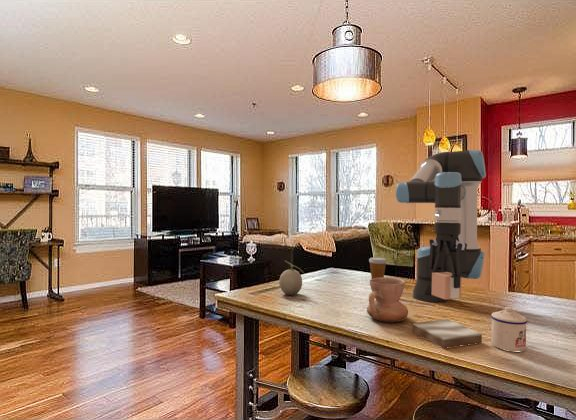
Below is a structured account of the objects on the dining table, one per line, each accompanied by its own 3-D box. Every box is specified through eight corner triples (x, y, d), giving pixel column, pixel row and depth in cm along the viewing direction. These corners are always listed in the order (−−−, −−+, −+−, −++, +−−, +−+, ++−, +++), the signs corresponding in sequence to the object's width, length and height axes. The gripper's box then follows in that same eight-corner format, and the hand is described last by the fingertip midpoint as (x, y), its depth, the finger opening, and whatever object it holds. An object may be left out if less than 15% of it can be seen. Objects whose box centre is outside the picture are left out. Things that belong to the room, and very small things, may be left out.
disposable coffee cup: (375, 277, 202) (375, 256, 202) (389, 280, 195) (390, 258, 194) (365, 279, 196) (365, 258, 196) (379, 282, 189) (379, 260, 188)
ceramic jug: (387, 310, 140) (386, 274, 140) (418, 319, 128) (418, 280, 128) (354, 319, 130) (353, 280, 130) (385, 330, 118) (385, 288, 118)
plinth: (412, 332, 116) (412, 323, 116) (447, 327, 120) (447, 319, 120) (443, 348, 103) (443, 338, 103) (481, 343, 107) (481, 333, 107)
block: (431, 294, 113) (432, 272, 113) (446, 293, 115) (447, 272, 115) (444, 299, 107) (445, 276, 107) (461, 298, 109) (461, 275, 109)
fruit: (301, 298, 157) (301, 264, 157) (276, 296, 160) (276, 263, 160) (306, 292, 167) (306, 261, 167) (283, 290, 170) (283, 259, 170)
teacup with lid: (522, 356, 98) (523, 314, 98) (486, 346, 104) (487, 307, 104) (531, 344, 107) (532, 305, 106) (497, 336, 113) (498, 299, 113)
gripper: (417, 220, 119) (416, 289, 119) (461, 223, 101) (459, 304, 101) (436, 220, 121) (435, 287, 121) (481, 223, 103) (480, 302, 103)
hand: (446, 295), depth 111 cm, fingers closed on block, 6 cm apart
